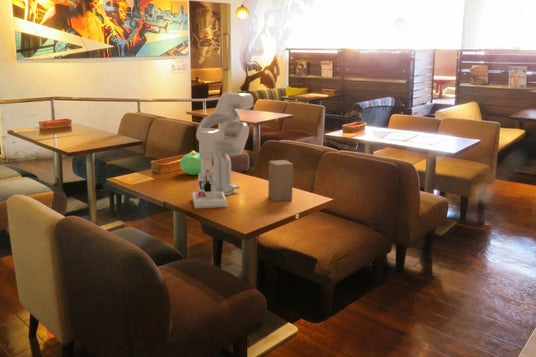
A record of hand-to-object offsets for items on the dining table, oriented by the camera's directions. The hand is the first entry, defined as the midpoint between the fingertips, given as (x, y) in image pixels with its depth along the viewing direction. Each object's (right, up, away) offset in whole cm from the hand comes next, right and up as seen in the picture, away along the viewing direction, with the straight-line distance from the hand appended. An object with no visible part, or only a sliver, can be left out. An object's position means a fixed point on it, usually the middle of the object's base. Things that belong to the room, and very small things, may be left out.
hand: (207, 189), depth 257 cm
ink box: (0, -4, +1) cm, 4 cm away
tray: (+1, -7, +2) cm, 7 cm away
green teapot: (-14, +8, +58) cm, 61 cm away
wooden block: (+38, -5, +12) cm, 40 cm away
